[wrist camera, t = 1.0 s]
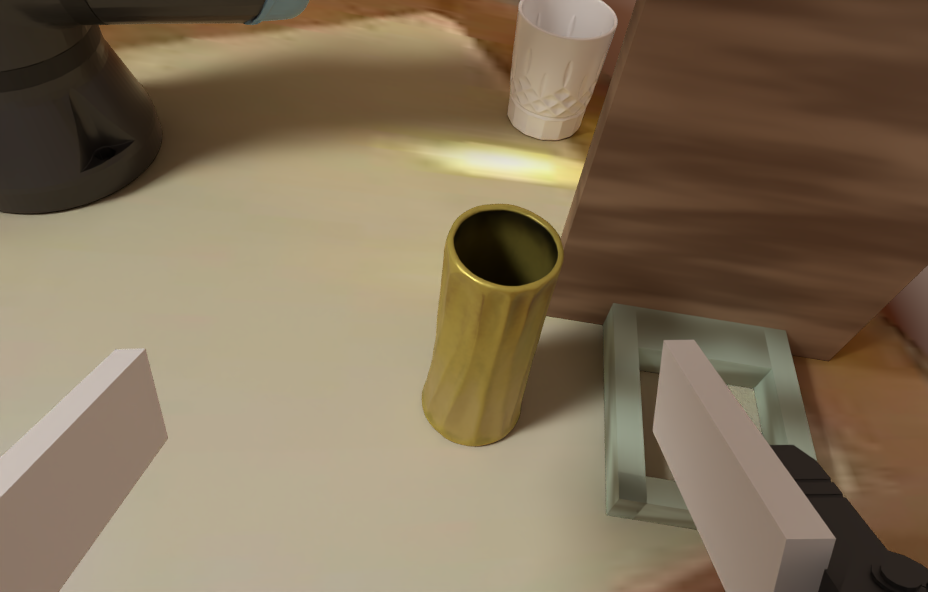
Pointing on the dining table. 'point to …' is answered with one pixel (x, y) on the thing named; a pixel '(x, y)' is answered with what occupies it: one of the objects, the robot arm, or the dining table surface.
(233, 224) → the dining table surface
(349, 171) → the dining table surface
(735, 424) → the robot arm
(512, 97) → the white cup
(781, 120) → the board
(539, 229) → the vase
